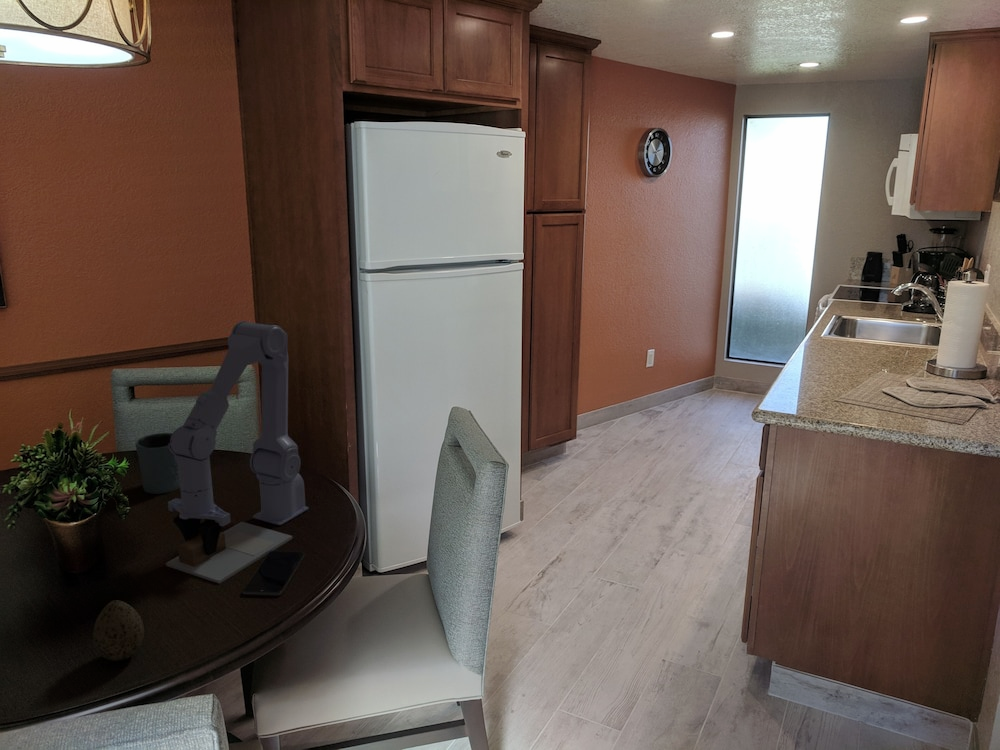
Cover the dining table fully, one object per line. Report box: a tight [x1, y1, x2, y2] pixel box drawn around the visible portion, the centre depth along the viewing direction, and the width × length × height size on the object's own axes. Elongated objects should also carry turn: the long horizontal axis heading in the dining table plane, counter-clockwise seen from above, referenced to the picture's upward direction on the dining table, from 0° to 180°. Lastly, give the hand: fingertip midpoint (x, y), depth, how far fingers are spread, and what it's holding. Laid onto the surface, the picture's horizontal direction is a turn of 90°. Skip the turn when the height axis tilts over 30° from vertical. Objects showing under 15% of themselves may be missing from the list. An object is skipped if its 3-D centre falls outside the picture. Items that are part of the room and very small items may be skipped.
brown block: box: [177, 531, 226, 567], centre depth 149 cm, size 8×4×4 cm, turn 154°
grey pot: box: [135, 432, 180, 495], centre depth 180 cm, size 10×10×12 cm
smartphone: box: [242, 550, 306, 597], centre depth 144 cm, size 7×1×16 cm
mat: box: [165, 521, 293, 585], centre depth 152 cm, size 20×14×1 cm
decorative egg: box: [92, 599, 145, 662], centre depth 118 cm, size 7×7×10 cm
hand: (202, 550), depth 149 cm, fingers closed on brown block, 4 cm apart
